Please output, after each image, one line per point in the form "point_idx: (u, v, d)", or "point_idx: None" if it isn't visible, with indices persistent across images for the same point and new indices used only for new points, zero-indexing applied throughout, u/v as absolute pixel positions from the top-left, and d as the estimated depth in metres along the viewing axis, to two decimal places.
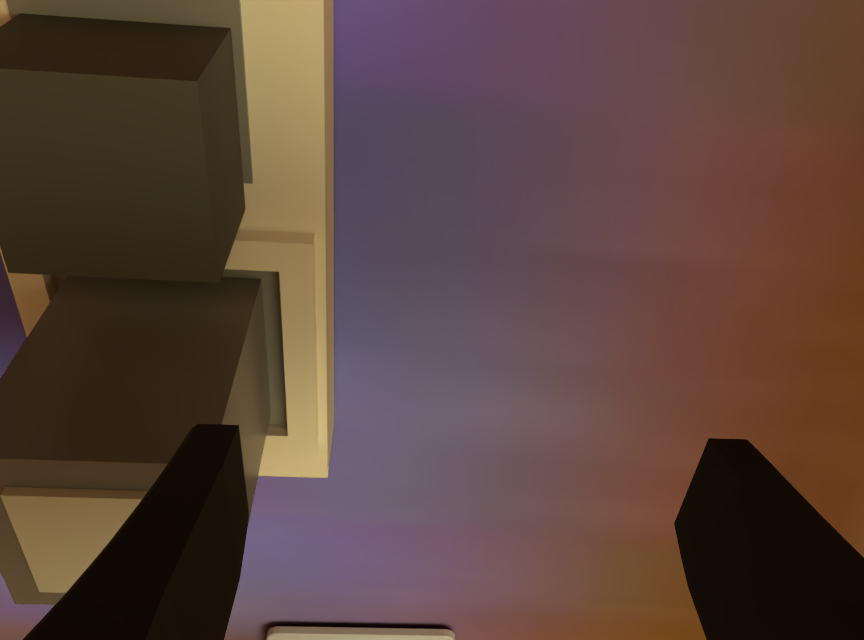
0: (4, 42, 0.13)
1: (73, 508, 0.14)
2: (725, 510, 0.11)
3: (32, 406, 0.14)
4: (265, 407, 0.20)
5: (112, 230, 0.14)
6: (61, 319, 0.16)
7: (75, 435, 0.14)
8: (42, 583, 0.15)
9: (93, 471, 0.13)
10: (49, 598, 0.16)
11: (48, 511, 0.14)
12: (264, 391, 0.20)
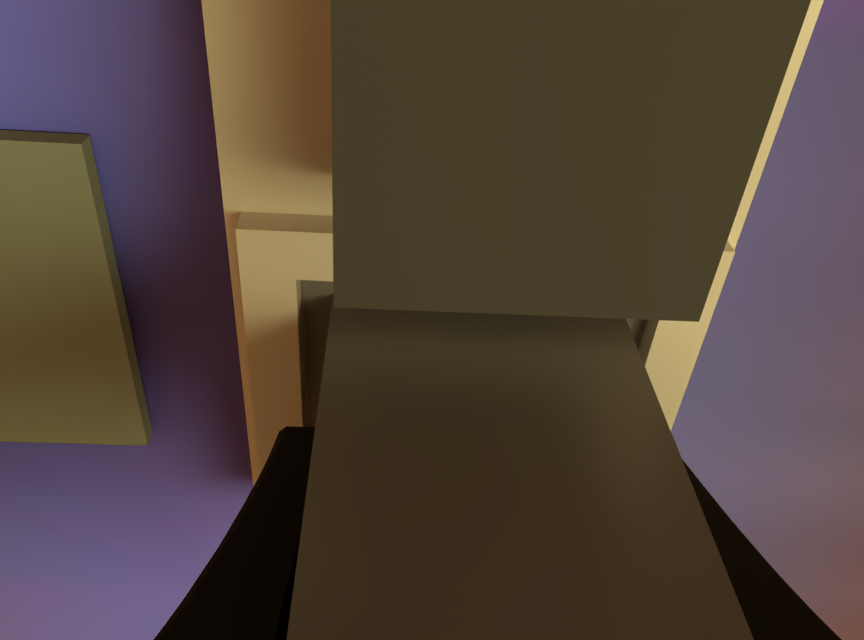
0: None
1: None
2: None
3: (386, 550, 0.08)
4: None
5: (546, 229, 0.08)
6: (357, 378, 0.10)
7: (490, 615, 0.07)
8: None
9: None
10: None
11: None
12: None
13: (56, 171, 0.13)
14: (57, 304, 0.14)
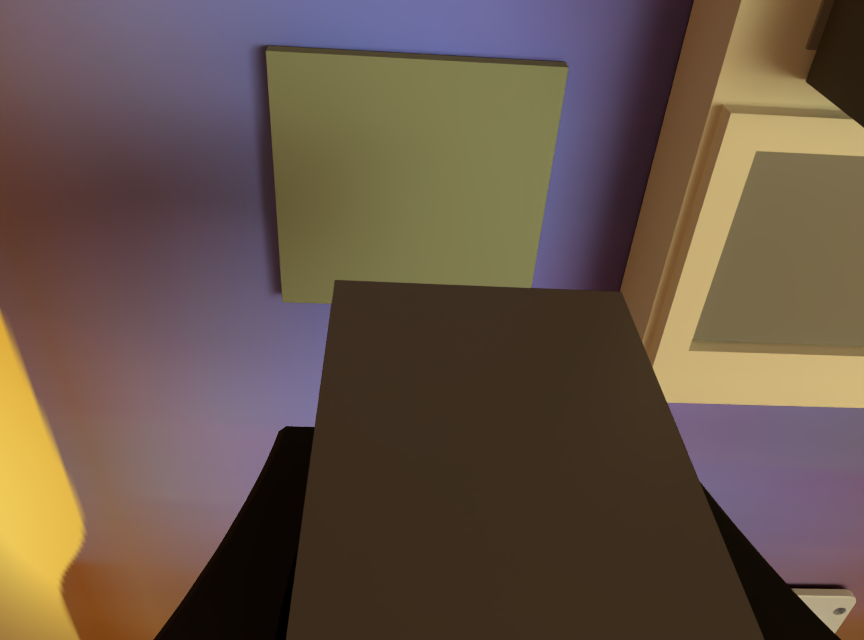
0: None
1: None
2: None
3: (389, 529, 0.08)
4: None
5: None
6: (359, 362, 0.10)
7: (492, 590, 0.07)
8: None
9: None
10: None
11: None
12: None
13: (544, 87, 0.18)
14: (505, 191, 0.19)
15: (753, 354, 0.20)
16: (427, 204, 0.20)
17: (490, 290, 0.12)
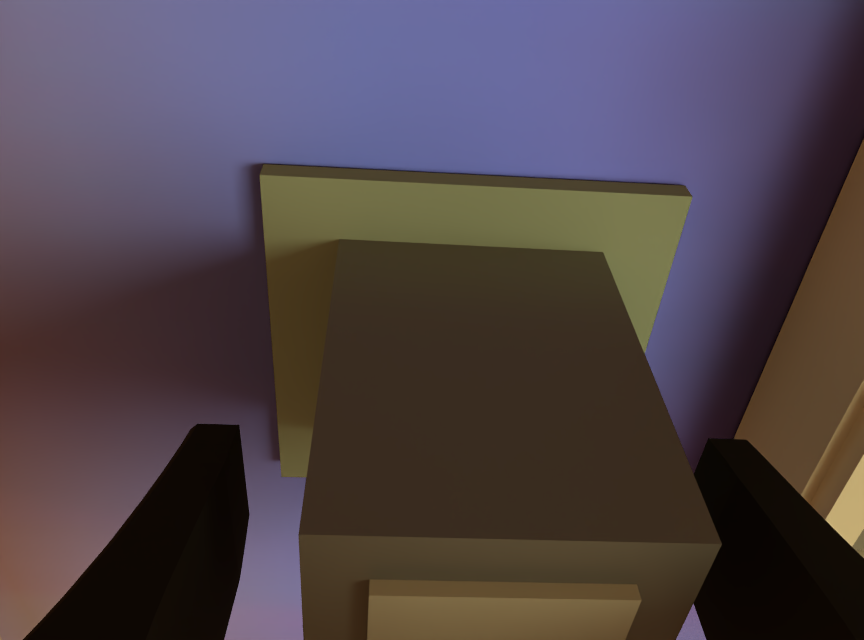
0: None
1: (477, 614, 0.08)
2: (725, 510, 0.11)
3: (388, 443, 0.09)
4: None
5: None
6: (362, 308, 0.11)
7: (479, 492, 0.08)
8: None
9: (525, 556, 0.08)
10: None
11: (434, 618, 0.08)
12: None
13: (654, 222, 0.13)
14: None
15: None
16: None
17: (482, 249, 0.13)
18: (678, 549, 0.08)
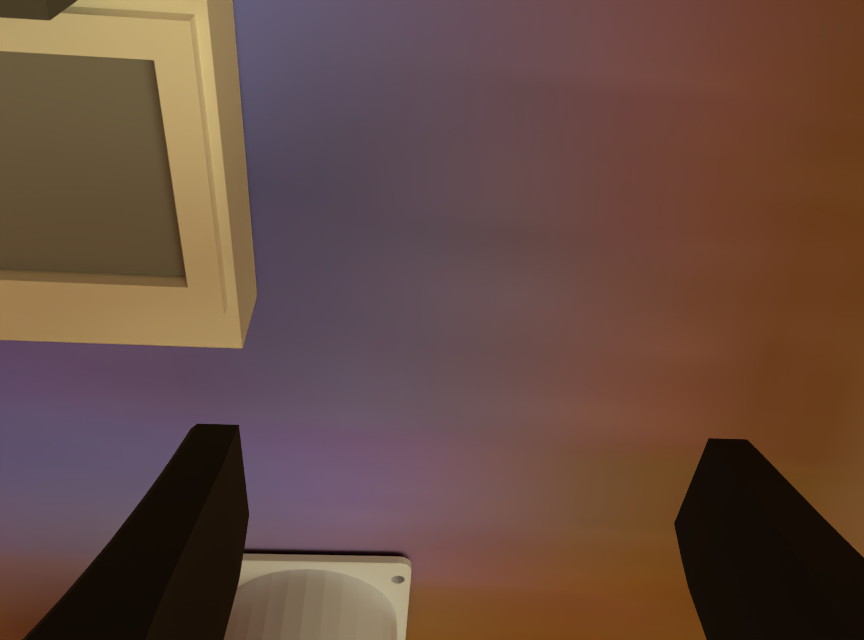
0: None
1: None
2: (725, 510, 0.11)
3: None
4: None
5: None
6: None
7: None
8: None
9: None
10: None
11: None
12: None
13: None
14: None
15: (29, 283, 0.18)
16: None
17: None
18: None
